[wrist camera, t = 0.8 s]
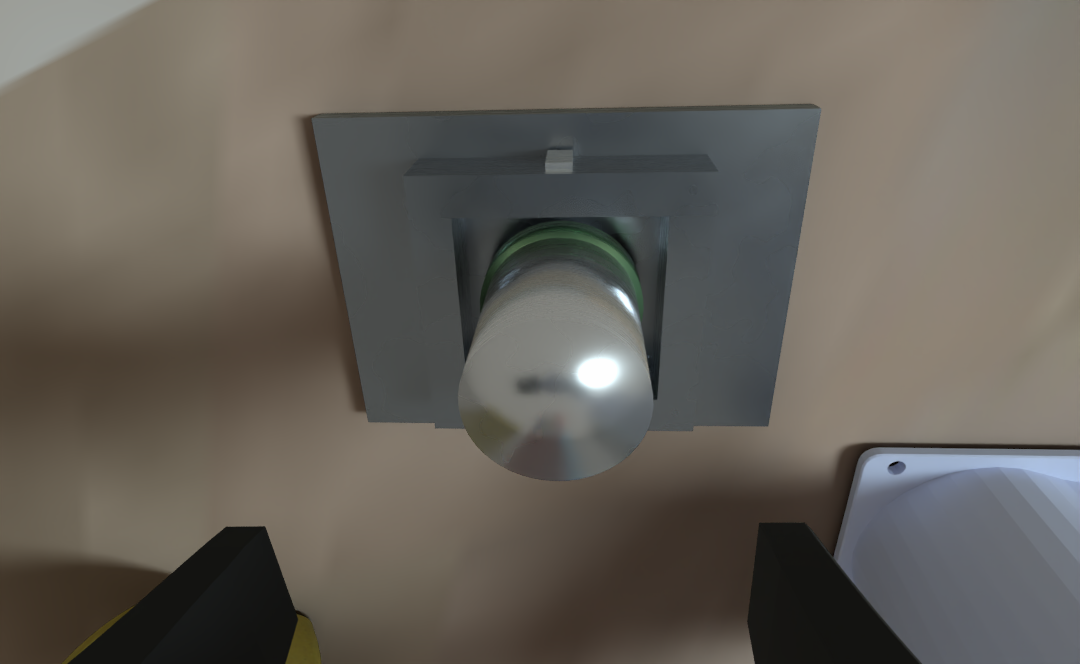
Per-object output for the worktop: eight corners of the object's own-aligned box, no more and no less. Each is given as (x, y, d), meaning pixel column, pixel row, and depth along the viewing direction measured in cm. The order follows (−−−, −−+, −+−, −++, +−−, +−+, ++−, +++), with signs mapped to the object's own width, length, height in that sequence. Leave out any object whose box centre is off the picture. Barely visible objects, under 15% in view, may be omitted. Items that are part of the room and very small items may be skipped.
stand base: (812, 104, 16) (845, 122, 14) (763, 414, 20) (782, 461, 18) (320, 114, 16) (285, 132, 15) (373, 410, 21) (352, 455, 19)
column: (643, 213, 17) (667, 311, 12) (636, 354, 19) (655, 488, 14) (480, 214, 17) (439, 311, 12) (491, 353, 19) (459, 485, 14)
